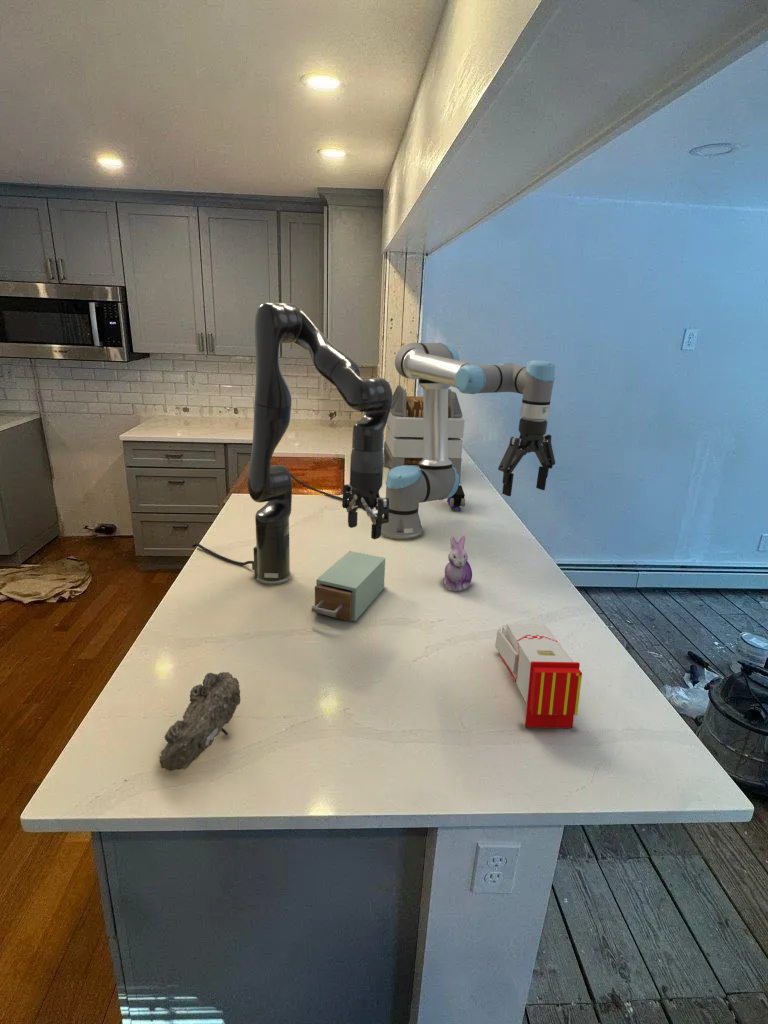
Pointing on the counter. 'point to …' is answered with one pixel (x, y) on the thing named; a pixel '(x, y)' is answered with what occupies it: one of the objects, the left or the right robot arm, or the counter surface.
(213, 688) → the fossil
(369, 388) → the left robot arm
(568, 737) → the counter surface
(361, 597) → the cabinet
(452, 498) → the figurine character
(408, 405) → the white wooden crate
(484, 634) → the counter surface
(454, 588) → the figurine
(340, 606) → the drawer
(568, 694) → the toy
